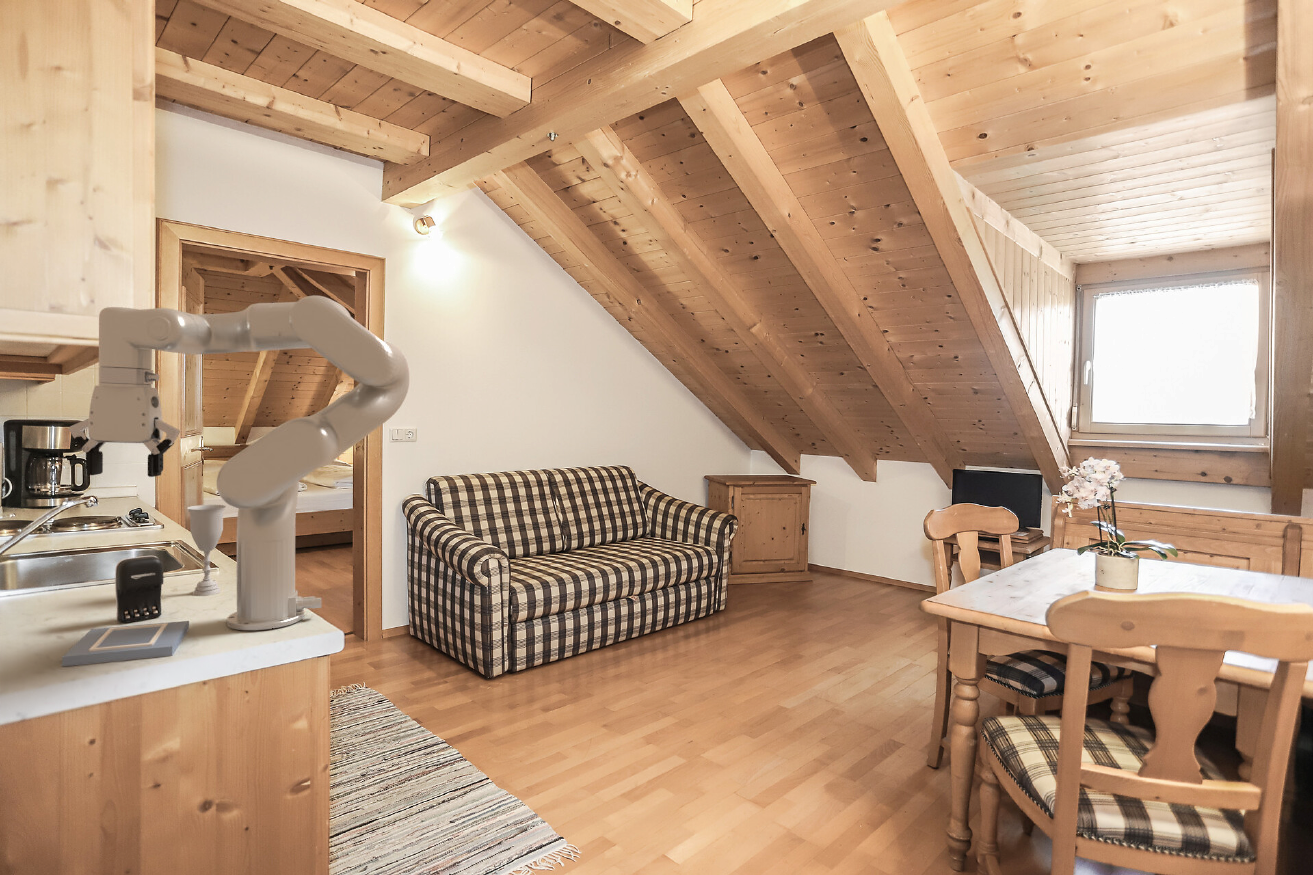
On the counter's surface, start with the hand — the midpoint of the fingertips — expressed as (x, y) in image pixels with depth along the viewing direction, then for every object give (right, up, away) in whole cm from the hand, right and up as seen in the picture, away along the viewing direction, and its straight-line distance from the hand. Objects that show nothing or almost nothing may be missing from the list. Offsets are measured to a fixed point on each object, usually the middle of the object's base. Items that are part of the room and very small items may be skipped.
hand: (124, 475), depth 127 cm
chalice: (0, -26, +23) cm, 35 cm away
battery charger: (0, -27, +4) cm, 27 cm away
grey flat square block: (+8, -28, -9) cm, 30 cm away
